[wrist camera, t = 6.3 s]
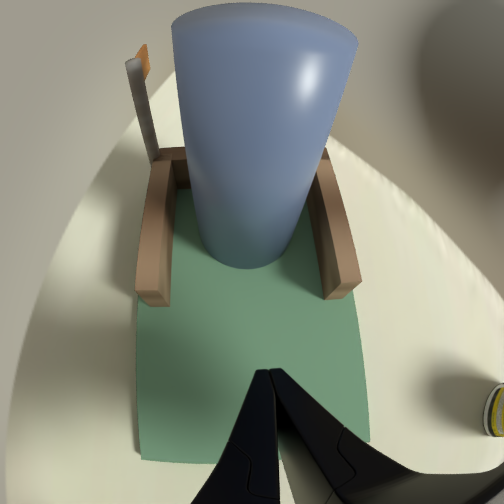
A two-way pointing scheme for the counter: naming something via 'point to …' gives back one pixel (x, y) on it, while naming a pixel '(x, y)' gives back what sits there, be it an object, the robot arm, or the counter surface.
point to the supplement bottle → (495, 412)
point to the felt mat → (240, 344)
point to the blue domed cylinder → (256, 119)
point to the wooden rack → (177, 177)
